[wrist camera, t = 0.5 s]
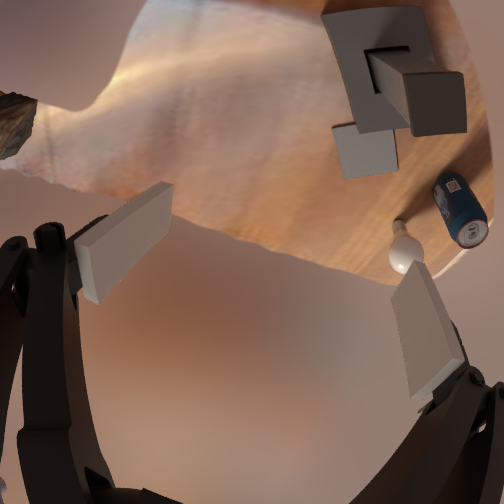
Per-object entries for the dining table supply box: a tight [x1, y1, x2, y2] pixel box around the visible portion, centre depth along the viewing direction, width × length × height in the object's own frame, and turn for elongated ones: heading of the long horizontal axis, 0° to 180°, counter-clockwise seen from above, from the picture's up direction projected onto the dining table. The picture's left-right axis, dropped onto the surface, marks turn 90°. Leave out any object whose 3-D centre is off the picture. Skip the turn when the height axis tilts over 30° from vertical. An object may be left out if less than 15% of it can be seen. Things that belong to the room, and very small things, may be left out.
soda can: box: [433, 173, 489, 249], centre depth 34 cm, size 7×7×12 cm
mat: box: [332, 124, 398, 179], centre depth 37 cm, size 9×9×1 cm
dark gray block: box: [321, 6, 435, 134], centre depth 25 cm, size 16×12×5 cm
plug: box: [363, 46, 467, 137], centre depth 21 cm, size 5×5×19 cm
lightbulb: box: [388, 220, 424, 274], centre depth 43 cm, size 6×6×11 cm
